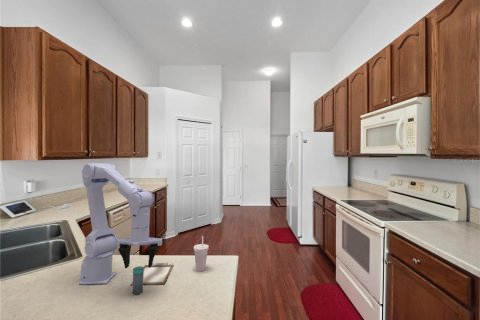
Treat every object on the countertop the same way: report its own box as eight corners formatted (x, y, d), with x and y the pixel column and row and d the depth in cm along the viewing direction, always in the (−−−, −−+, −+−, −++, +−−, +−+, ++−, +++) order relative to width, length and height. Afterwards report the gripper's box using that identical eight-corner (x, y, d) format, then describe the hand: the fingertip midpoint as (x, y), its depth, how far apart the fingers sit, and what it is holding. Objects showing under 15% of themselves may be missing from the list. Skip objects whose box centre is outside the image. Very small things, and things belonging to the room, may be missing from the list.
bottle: (130, 295, 73) (131, 270, 73) (134, 289, 77) (135, 266, 77) (141, 295, 74) (142, 270, 74) (144, 289, 77) (145, 266, 77)
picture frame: (130, 285, 79) (130, 282, 79) (145, 266, 95) (145, 263, 95) (164, 284, 80) (164, 281, 80) (173, 265, 96) (173, 262, 96)
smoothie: (204, 274, 89) (206, 239, 90) (190, 272, 90) (191, 237, 91) (210, 267, 95) (211, 234, 96) (196, 265, 97) (197, 233, 97)
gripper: (112, 229, 71) (110, 272, 71) (159, 229, 73) (157, 271, 72) (122, 224, 78) (120, 263, 78) (164, 224, 80) (162, 262, 79)
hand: (138, 266), depth 75 cm, fingers open, 7 cm apart
